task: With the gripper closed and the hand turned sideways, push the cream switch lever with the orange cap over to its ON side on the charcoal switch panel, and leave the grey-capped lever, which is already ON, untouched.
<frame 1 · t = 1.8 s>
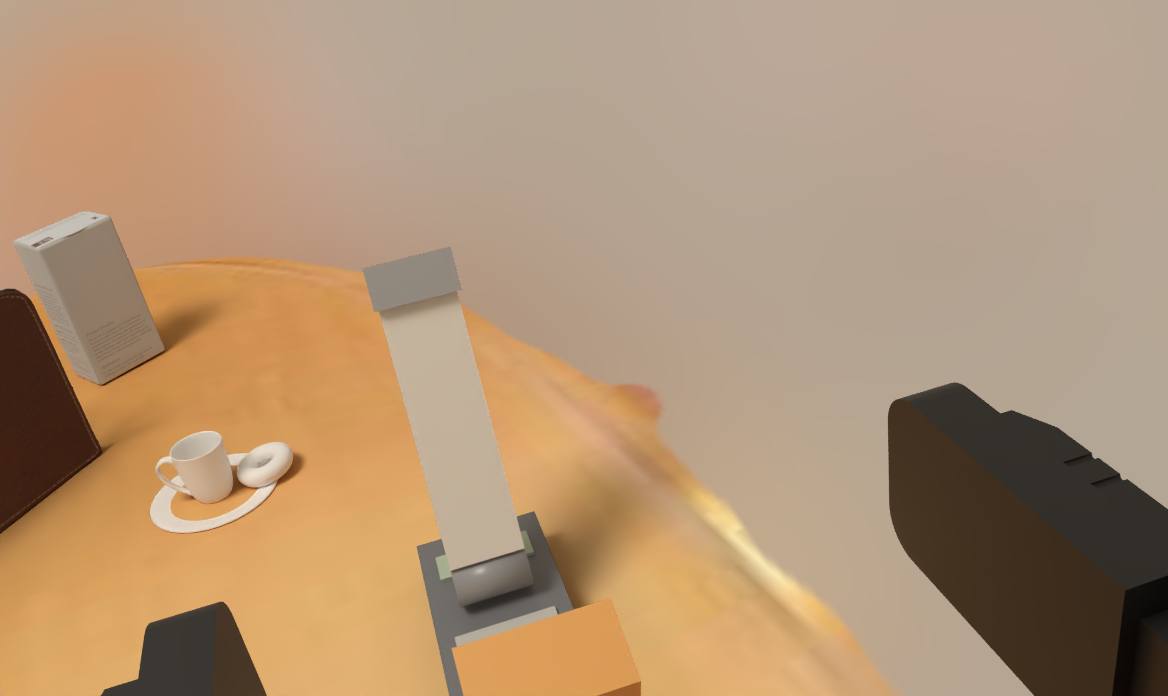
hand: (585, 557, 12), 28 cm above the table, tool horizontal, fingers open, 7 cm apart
skincare box: (122, 367, 83), on the table
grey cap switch: (452, 429, 48), point 10 cm above the table, hinge at -22.0°
teacup and saucer: (246, 515, 63), on the table
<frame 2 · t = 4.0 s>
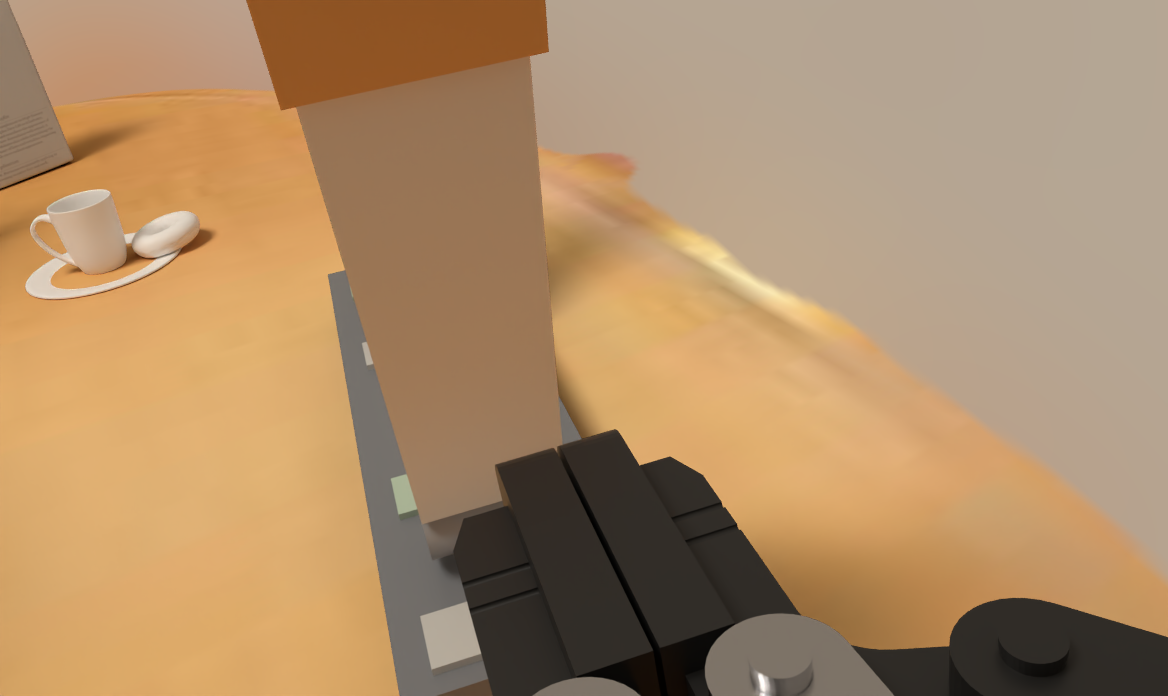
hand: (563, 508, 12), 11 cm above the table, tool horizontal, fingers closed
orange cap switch: (454, 311, 21), point 10 cm above the table, hinge at 22.0°
switch panel: (462, 444, 35), on the table
skincare box: (23, 177, 73), on the table
teacup and saucer: (140, 285, 53), on the table
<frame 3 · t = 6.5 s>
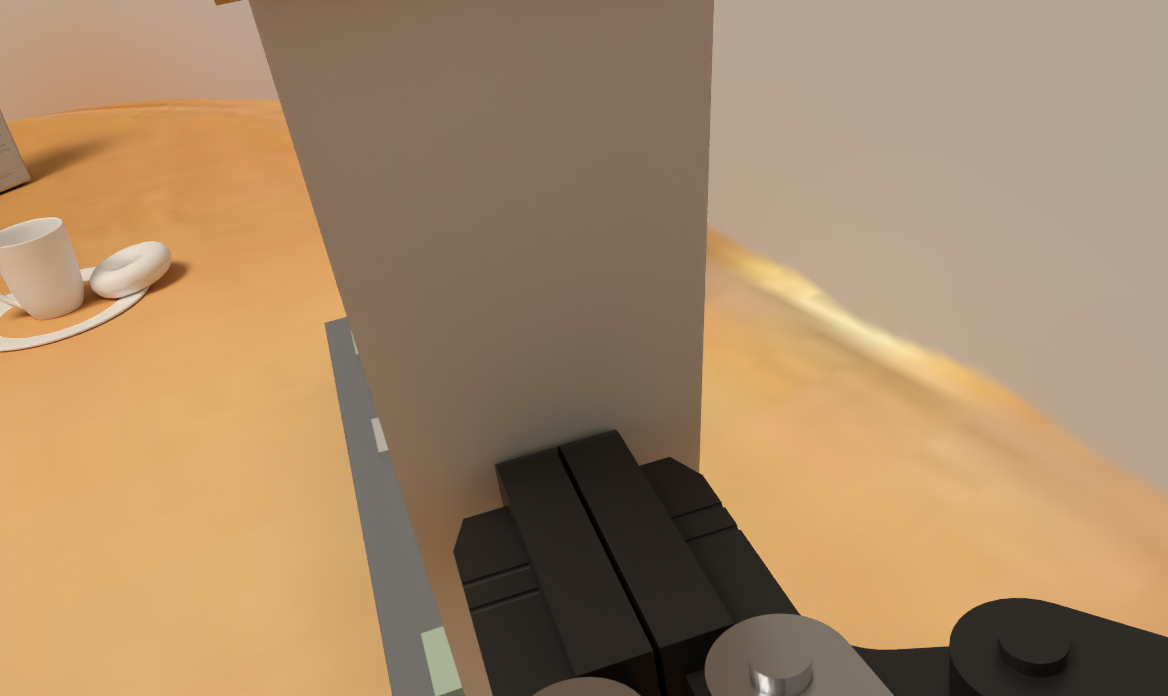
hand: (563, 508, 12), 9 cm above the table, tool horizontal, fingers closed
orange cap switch: (539, 415, 12), point 10 cm above the table, hinge at 17.3°, touching gripper
switch panel: (508, 559, 26), on the table
teacup and saucer: (99, 332, 44), on the table
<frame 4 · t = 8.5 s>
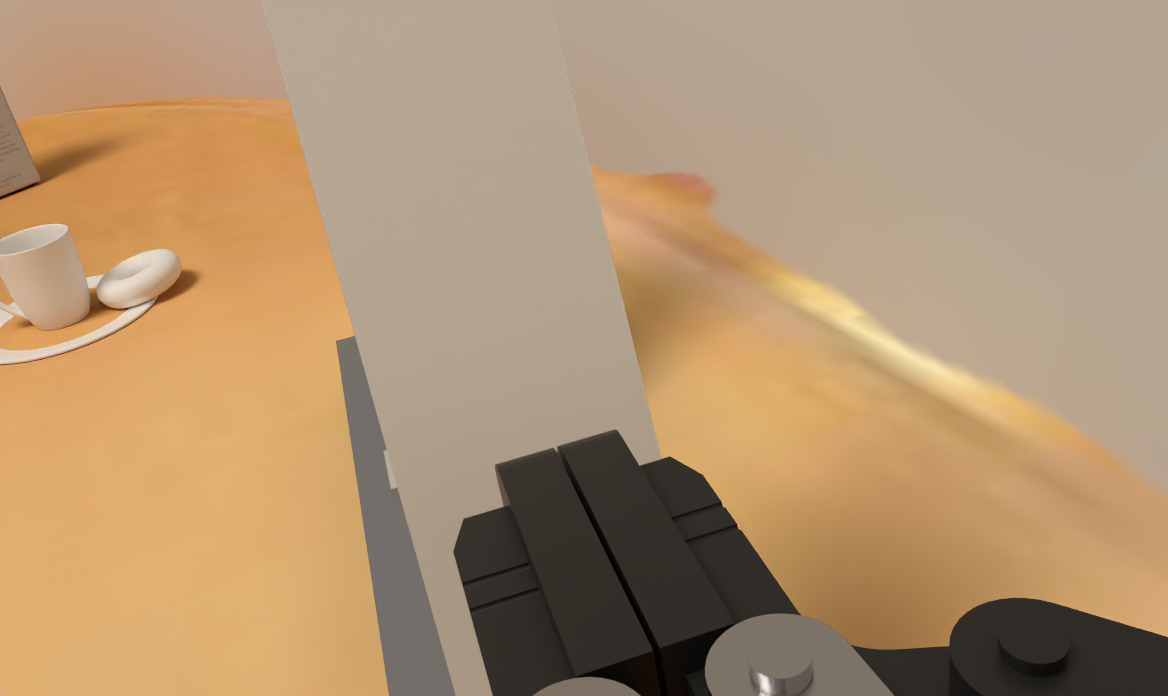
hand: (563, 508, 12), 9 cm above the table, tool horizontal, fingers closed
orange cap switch: (489, 324, 15), point 10 cm above the table, hinge at -21.5°
switch panel: (530, 608, 24), on the table
teacup and saucer: (105, 345, 42), on the table
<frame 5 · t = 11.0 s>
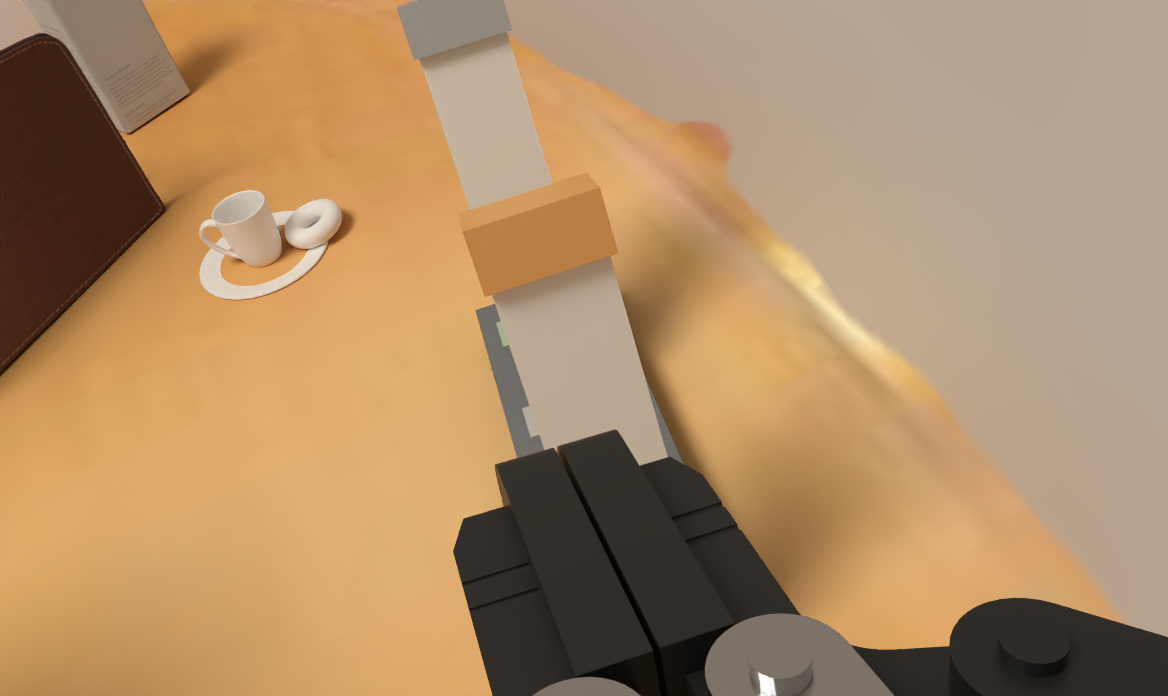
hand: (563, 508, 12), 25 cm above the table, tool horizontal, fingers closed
letter holder: (11, 305, 64), on the table
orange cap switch: (603, 444, 33), point 10 cm above the table, hinge at -21.5°
switch panel: (612, 504, 44), on the table
skincare box: (147, 112, 78), on the table
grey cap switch: (508, 190, 44), point 10 cm above the table, hinge at -22.0°
teacup and saucer: (299, 278, 60), on the table
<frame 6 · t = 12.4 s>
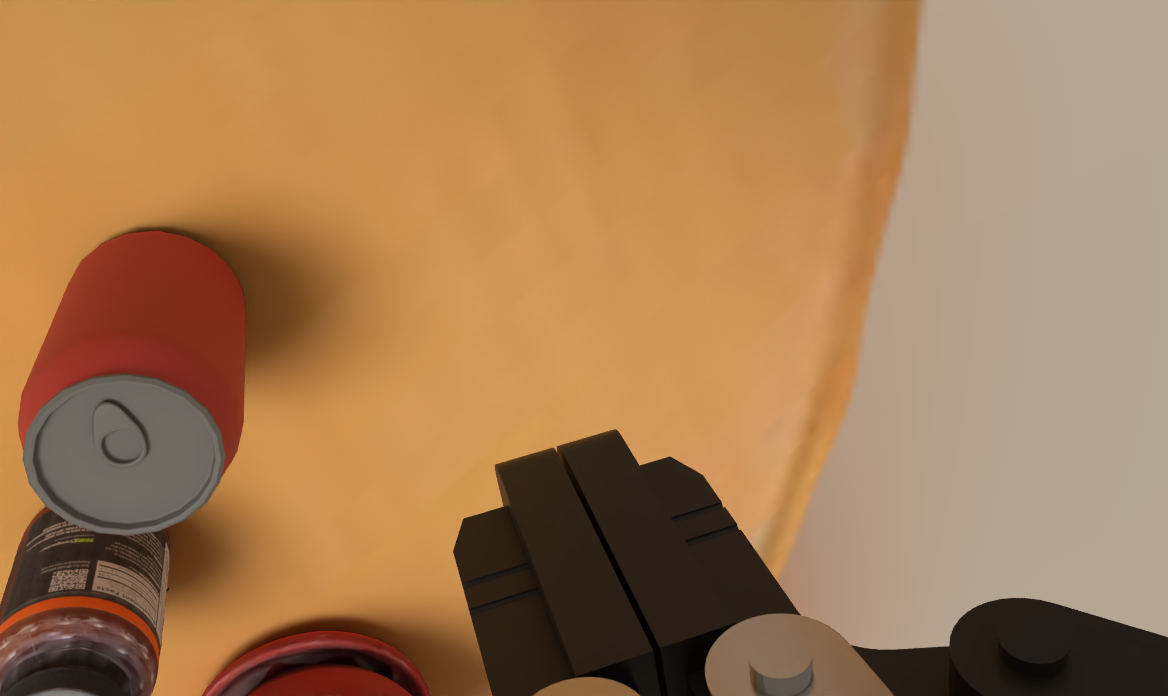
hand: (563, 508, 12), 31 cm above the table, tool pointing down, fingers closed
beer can: (159, 301, 41), on the table
supplement bottle: (100, 540, 45), on the table
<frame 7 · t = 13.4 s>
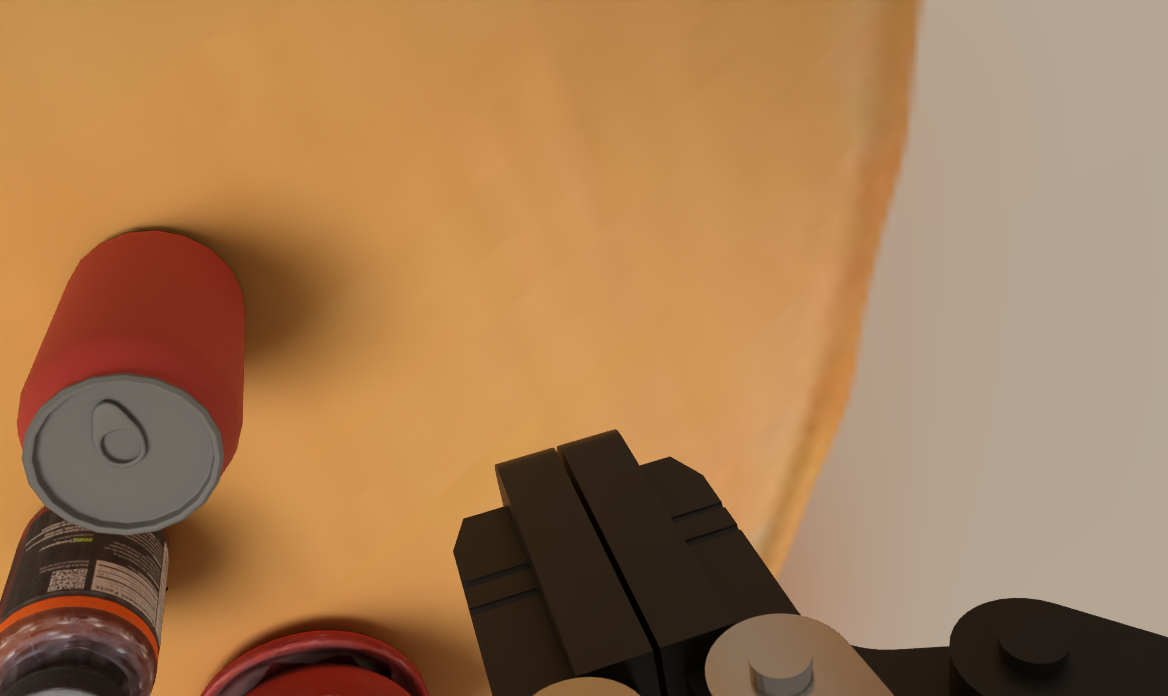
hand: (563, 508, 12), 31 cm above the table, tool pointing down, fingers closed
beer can: (158, 301, 41), on the table
supplement bottle: (99, 539, 45), on the table
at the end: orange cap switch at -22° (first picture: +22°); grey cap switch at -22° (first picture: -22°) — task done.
